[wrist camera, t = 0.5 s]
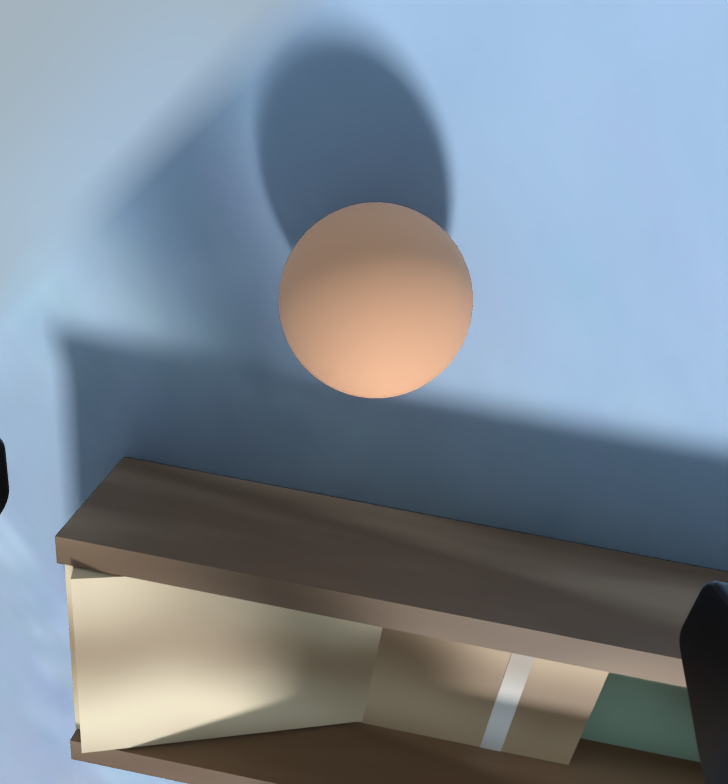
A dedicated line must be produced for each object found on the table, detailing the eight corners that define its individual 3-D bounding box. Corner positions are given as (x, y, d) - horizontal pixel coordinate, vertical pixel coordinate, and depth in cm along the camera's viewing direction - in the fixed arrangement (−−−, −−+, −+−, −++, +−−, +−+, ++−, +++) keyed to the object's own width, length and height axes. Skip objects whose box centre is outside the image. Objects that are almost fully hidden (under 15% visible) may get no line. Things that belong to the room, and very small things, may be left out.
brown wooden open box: (753, 786, 26) (814, 927, 22) (127, 659, 27) (65, 769, 23) (873, 599, 22) (980, 729, 18) (123, 457, 23) (47, 545, 19)
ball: (450, 369, 20) (451, 450, 16) (292, 340, 20) (248, 412, 16) (487, 205, 18) (500, 244, 14) (309, 175, 18) (265, 204, 14)
